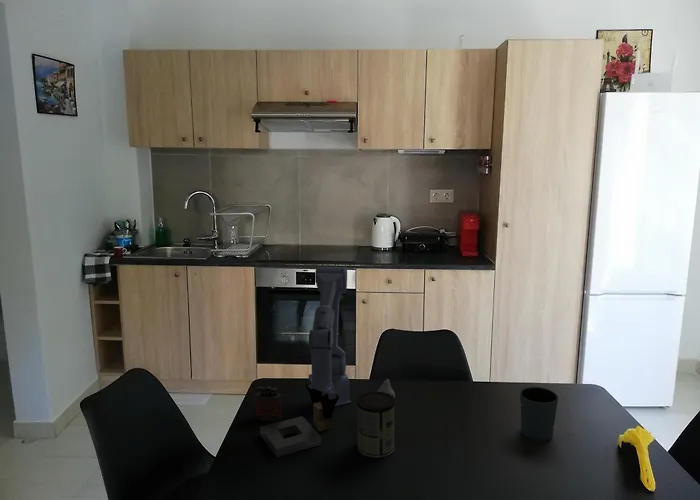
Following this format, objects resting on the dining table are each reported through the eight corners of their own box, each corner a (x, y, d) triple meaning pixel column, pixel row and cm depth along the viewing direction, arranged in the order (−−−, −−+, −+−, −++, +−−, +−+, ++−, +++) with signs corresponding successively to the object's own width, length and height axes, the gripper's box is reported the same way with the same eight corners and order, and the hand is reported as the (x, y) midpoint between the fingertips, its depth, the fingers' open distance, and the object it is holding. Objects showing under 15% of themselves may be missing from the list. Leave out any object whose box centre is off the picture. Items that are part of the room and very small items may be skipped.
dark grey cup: (556, 428, 152) (559, 390, 150) (554, 446, 143) (557, 405, 141) (520, 421, 156) (522, 384, 154) (515, 438, 147) (517, 398, 145)
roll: (380, 373, 163) (397, 376, 160) (380, 409, 165) (397, 412, 163) (373, 380, 157) (391, 383, 155) (373, 418, 159) (391, 421, 157)
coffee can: (363, 435, 150) (363, 388, 147) (398, 441, 146) (399, 394, 144) (351, 454, 140) (351, 405, 138) (389, 461, 137) (389, 411, 134)
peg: (325, 422, 157) (325, 400, 156) (331, 428, 153) (331, 406, 152) (313, 425, 155) (313, 403, 154) (319, 431, 152) (318, 409, 150)
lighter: (282, 415, 161) (281, 385, 159) (280, 421, 158) (279, 390, 156) (257, 414, 162) (255, 384, 160) (254, 419, 159) (252, 389, 157)
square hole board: (302, 423, 156) (302, 416, 156) (321, 444, 145) (320, 436, 144) (260, 435, 150) (260, 426, 149) (276, 457, 139) (276, 449, 138)
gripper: (298, 362, 155) (299, 405, 158) (319, 380, 143) (320, 426, 145) (320, 358, 159) (321, 400, 161) (342, 375, 146) (343, 420, 148)
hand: (322, 412), depth 153 cm, fingers open, 7 cm apart
